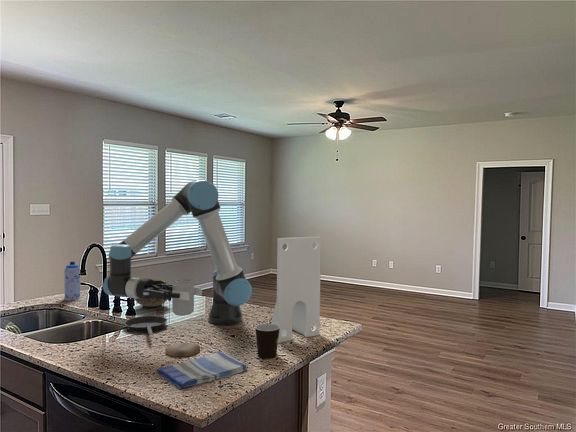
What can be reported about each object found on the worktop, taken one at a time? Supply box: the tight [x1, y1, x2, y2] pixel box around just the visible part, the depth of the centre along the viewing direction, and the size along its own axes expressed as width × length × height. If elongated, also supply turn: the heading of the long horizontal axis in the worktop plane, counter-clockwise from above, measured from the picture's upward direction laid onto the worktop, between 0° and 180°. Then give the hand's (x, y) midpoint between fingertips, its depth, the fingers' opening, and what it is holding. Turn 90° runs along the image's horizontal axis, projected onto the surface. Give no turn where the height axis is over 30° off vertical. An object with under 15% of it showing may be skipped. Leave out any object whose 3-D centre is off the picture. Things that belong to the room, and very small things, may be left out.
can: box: [171, 278, 195, 317], centre depth 150 cm, size 8×8×12 cm
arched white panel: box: [270, 236, 322, 344], centre depth 172 cm, size 20×14×40 cm
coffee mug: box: [254, 323, 280, 360], centre depth 149 cm, size 12×9×10 cm
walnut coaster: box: [165, 342, 201, 358], centre depth 151 cm, size 12×12×1 cm
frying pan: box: [123, 315, 168, 336], centre depth 172 cm, size 18×32×4 cm, turn 23°
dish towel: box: [156, 351, 249, 390], centre depth 133 cm, size 17×24×3 cm
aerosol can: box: [64, 261, 82, 302], centre depth 227 cm, size 8×8×20 cm
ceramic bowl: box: [134, 279, 168, 311], centre depth 211 cm, size 24×18×15 cm
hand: (195, 293), depth 149 cm, fingers closed on can, 7 cm apart
